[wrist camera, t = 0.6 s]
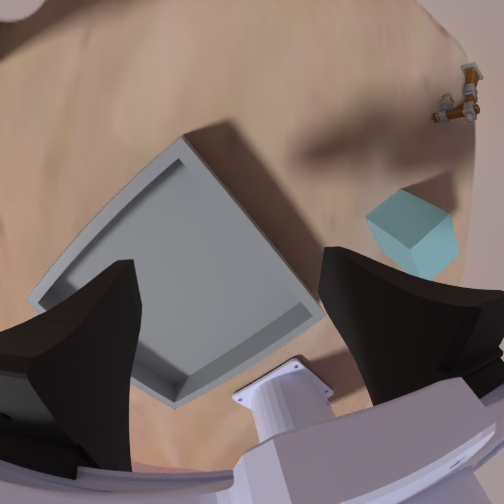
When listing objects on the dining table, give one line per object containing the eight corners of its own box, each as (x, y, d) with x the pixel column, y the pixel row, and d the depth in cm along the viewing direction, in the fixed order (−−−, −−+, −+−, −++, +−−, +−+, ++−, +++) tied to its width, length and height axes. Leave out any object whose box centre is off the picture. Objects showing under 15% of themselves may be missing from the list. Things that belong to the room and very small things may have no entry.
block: (414, 224, 23) (459, 254, 18) (382, 251, 24) (423, 287, 19) (400, 188, 22) (449, 213, 16) (364, 217, 22) (409, 249, 17)
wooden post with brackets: (426, 117, 18) (473, 109, 14) (439, 71, 20) (477, 61, 16) (436, 134, 19) (482, 128, 15) (448, 85, 21) (485, 77, 16)
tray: (313, 294, 24) (326, 315, 22) (174, 385, 26) (174, 409, 24) (183, 134, 17) (180, 137, 15) (40, 280, 19) (25, 301, 17)
